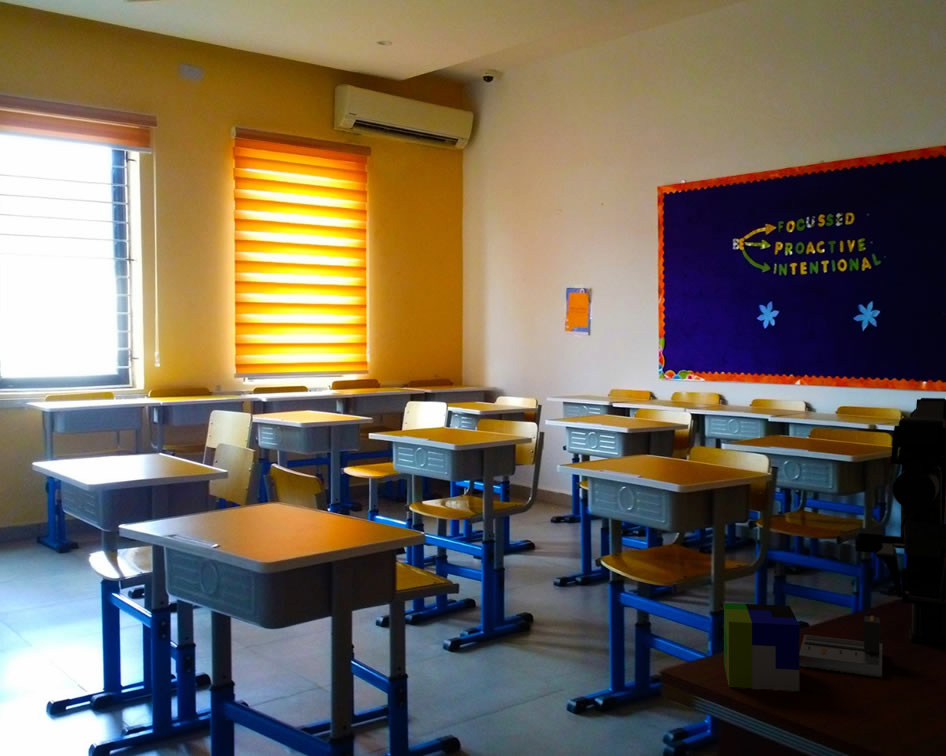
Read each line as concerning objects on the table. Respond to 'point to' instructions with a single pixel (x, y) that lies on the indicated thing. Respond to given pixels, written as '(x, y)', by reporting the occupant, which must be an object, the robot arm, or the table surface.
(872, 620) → the fader knob
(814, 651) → the console plate
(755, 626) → the puzzle toy
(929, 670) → the table surface
